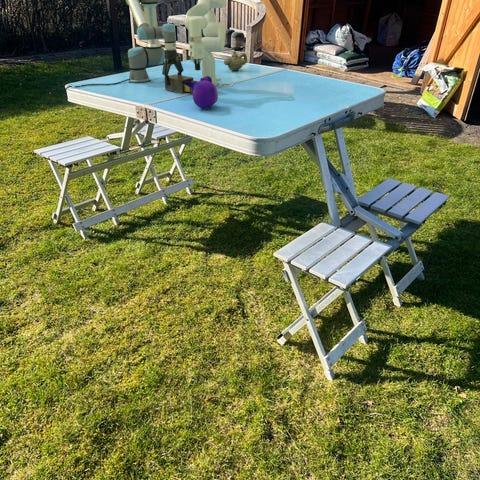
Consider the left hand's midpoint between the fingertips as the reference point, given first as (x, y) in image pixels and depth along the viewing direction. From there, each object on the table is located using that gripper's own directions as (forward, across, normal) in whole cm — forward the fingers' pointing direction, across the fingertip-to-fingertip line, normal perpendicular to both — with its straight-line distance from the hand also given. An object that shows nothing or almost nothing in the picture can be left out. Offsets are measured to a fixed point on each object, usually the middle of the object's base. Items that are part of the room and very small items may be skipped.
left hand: (174, 83), depth 309 cm
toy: (+4, -25, -47) cm, 53 cm away
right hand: (-11, 0, -23) cm, 25 cm away
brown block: (+4, 0, -5) cm, 6 cm away
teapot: (+4, +79, +8) cm, 80 cm away
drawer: (+3, 0, -16) cm, 17 cm away
